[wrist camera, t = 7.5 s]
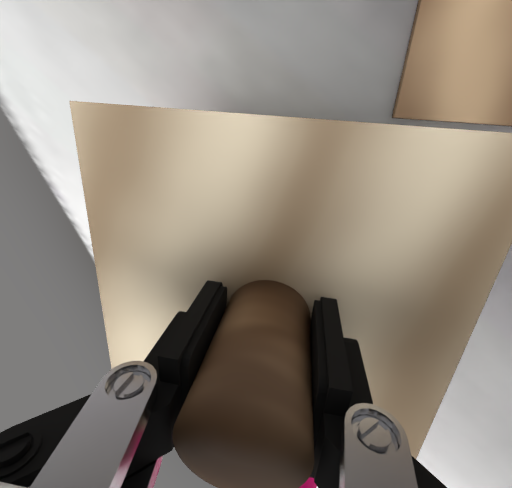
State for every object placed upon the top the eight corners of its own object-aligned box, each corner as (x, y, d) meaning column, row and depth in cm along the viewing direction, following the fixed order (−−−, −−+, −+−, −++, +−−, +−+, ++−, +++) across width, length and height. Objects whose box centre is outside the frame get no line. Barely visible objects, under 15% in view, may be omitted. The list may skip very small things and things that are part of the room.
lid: (531, 135, 8) (959, 149, 3) (403, 448, 14) (468, 663, 8) (90, 103, 10) (-167, 73, 5) (129, 393, 15) (31, 539, 10)
